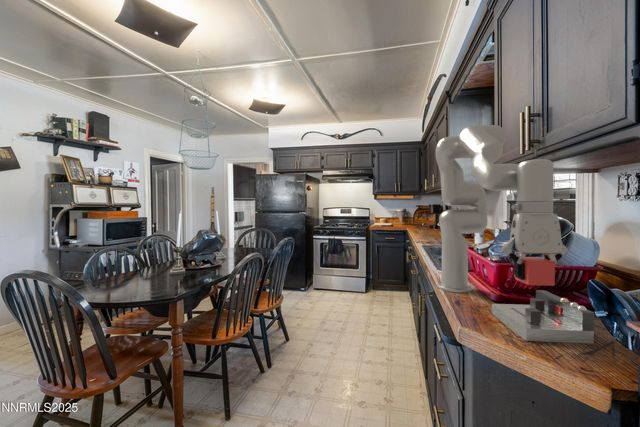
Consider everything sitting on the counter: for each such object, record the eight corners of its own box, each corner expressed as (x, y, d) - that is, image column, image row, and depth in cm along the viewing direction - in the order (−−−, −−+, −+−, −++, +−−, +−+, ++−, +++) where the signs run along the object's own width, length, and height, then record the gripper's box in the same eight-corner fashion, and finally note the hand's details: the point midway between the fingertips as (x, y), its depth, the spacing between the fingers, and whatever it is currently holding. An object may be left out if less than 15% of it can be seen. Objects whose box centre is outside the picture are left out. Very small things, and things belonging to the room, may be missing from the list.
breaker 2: (525, 319, 77) (525, 308, 76) (535, 319, 76) (535, 308, 76) (530, 323, 74) (530, 311, 74) (540, 323, 74) (541, 311, 74)
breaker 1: (530, 308, 84) (530, 298, 84) (539, 308, 84) (539, 298, 84) (535, 311, 82) (535, 300, 82) (544, 311, 82) (544, 301, 82)
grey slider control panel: (491, 313, 89) (491, 286, 89) (544, 315, 88) (544, 287, 87) (526, 340, 71) (526, 307, 71) (593, 343, 70) (594, 308, 69)
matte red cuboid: (515, 279, 78) (515, 256, 78) (539, 279, 77) (539, 257, 77) (528, 285, 72) (528, 261, 72) (554, 285, 71) (554, 261, 71)
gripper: (506, 209, 72) (505, 281, 72) (582, 208, 70) (582, 283, 70) (491, 208, 79) (491, 274, 79) (560, 208, 77) (560, 275, 77)
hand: (533, 278), depth 75 cm, fingers closed on matte red cuboid, 6 cm apart
